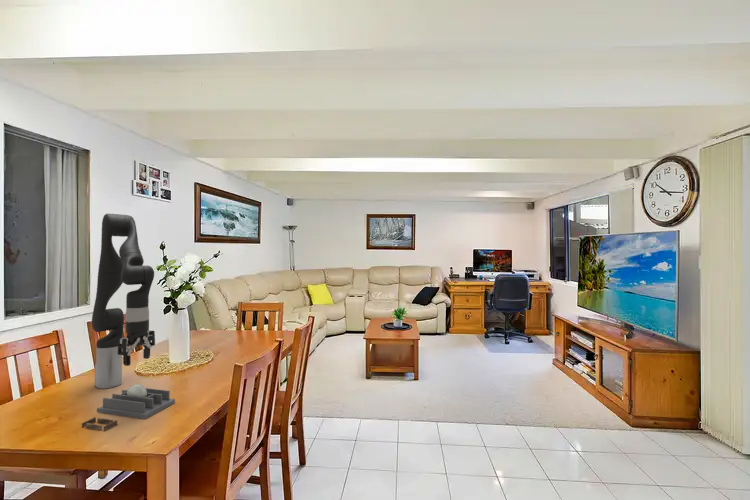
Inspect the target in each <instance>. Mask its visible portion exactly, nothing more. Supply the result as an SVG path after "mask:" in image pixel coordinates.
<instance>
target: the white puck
mask: <svg viewBox="0 0 750 500" xmlns="http://www.w3.org/2000/svg"><path fill="white" fill-rule="evenodd" d="M131 386H132V387H131ZM131 386H129V388H128V389H127V390H128V391H127V395H128V396H136V397H144V398H146V397H147V391H146V388H147V387H145V386H144V385H142V384H140V383H137V384H133V385H131Z"/></svg>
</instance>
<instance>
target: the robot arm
mask: <svg viewBox="0 0 750 500" xmlns="http://www.w3.org/2000/svg"><path fill="white" fill-rule="evenodd" d="M101 221H102V222H101V241H100V243H101V245H100V256H99V263H98V272H97V281H96V283H97V284H96V293H95V294H96V296H95V300H94V306H93V311H92V315H91V316H92V317H91V327H92V330H93V331H94V332H107V331H110V332H108V334H106V335H105V336H103V337H101V338H98V339H97V340H96V343H95V344H96V347H95V348H96V356H95V357H96V362H95V364H94V387H96V388H97V389H104V390H105V389H112V388H115V387H119V386H120V385H122V384H123V365H124V366H125V367H129V366H131V362H132V361H131V360H132V359H131V354H132V351H134V350H135V348H137V347H139V346H142V347H143V351H142V353H143V354H142V355H143V360H144V359H147V360H149V359H150V356H151V349H152V347H154V346H156V337H155V336H156V335H155V333H156V332H155V330H150V309H149V301H150V300H149V297H150V296H149V295H150V291H151V288H152V285H153V282H154V278H155V271H154V269H153V267H152V266H150V265H144V258H143V255H142V252H141V249H140V246H139V239H138V231H137V224H136V220H135V218H134V217H133V216H132V215H128V214H117V213H105V214H104V215H103V216H102V220H101ZM113 237H123V238H125V237H126V239H125V240H124V241H123V243H122V244H121V245H120V246H119V249H118V250H119V251H118V253H117V251H116V249H115V247H114V245H113V244H114V243H113ZM122 284H125V286H135V285H140V287H139V288H137V289H135V290H131V291H129V292H127V294H126V297H125V299H126V301H125V302H126V305H125V307H126V309H125V313H124V312H123V310H122V309H121V308H119V307H113V308H107V305H108V303H109V301H110V300H111V299H112V297H113V296H114V295H115V293H116V292H117V291H118V290H119V289H120V287H122ZM124 314H125V316H124ZM124 323H125V324H124ZM124 325H125V327H124ZM124 328H125V329H124ZM124 332H125V333H126V336H125V337H124Z"/></svg>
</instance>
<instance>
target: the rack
mask: <svg viewBox="0 0 750 500" xmlns="http://www.w3.org/2000/svg"><path fill="white" fill-rule="evenodd" d="M132 386H133V385H131V386H130V387H132ZM145 388H146V391H147V397H146V398H144V397H136V396H128V395H127V391H128V389H122V390H121V393H120V394H118V393H112V397H111V398H110V397H109V398H108V397H103V398H102V406H100V407H98V408H97V409H96V412H97V413H99V414H105V415H112V416H119V417H120V416H121V417H126V418H135V419H141V420H146V419H148V418H150V417H152V416H154V415H155V414H157V413H159V412H161V411H163V410H164V409H167V408H169V407H170V406H172V405H174V404H176V399H174V398H171V394H170V390H167V389H166V390H164V389H159V388H151V387H148V388H147V387H145Z"/></svg>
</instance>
